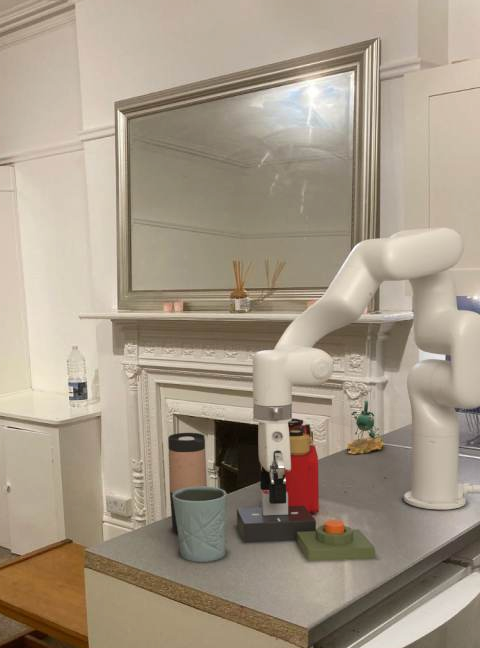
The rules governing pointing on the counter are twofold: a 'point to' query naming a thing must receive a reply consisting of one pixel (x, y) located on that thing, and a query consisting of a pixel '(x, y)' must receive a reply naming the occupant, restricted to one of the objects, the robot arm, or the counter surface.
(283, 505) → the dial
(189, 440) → the travel mug
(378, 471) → the counter surface
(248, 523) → the plate
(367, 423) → the green character figurine
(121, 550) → the counter surface
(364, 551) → the button block
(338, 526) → the button
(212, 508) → the teal embossed cup
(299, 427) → the red coffee machine
